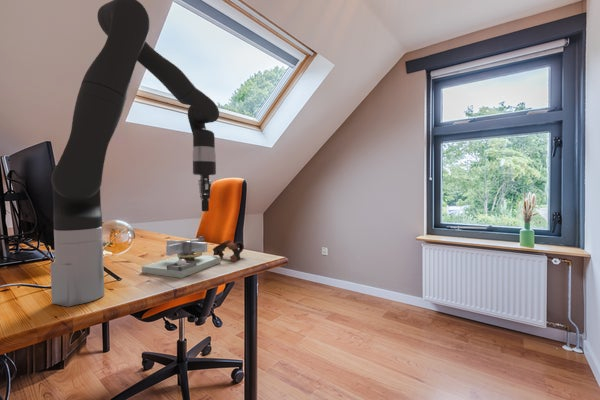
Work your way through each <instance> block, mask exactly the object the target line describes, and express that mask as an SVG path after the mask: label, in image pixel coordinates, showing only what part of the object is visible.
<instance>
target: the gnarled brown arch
mask: <svg viewBox="0 0 600 400" xmlns="http://www.w3.org/2000/svg"><path fill="white" fill-rule="evenodd" d="M238 246H239V248H238ZM225 249H229V250H230V251H232V252H233V254H232V255H230V256H229V258H230V260H231V262H232V263H233V262H236V261H238V260H240V259H241V255H240V254H241V253H242V252H243V251H244V244H243V242H242V241H236V242H232V241H231V239H228V240H225V241H224V242H221V243H219V244H218V245H217V246H214V247H213V248H212V251H213V253H212V254H213V255H212V256H218V257H220V258H223V257H224V256H225V253H224V251H226V250H225Z"/></svg>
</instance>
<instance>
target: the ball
mask: <svg viewBox="0 0 600 400" xmlns="http://www.w3.org/2000/svg"><path fill="white" fill-rule="evenodd" d="M177 264H178V266H182V265H185V264H186V260H184V259H180V260H179V261H178V263H177Z"/></svg>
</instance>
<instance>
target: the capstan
mask: <svg viewBox="0 0 600 400" xmlns="http://www.w3.org/2000/svg"><path fill="white" fill-rule="evenodd" d="M165 249H166V251H165V253H166V256H167V257H168V256H169V257H170V256H174V255H176V256H177V257H178V258H179V260H180V259H184V260H186V261H194V260H195V258H196V257H200V256H202V255H203V253H204V254H205V253H207V252H208V242H205V236H202V235H200V236H197V238H193V239H185V240H177V239H176V240H175V239H168V240H166V246H165Z"/></svg>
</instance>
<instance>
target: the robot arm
mask: <svg viewBox="0 0 600 400" xmlns="http://www.w3.org/2000/svg"><path fill="white" fill-rule="evenodd" d="M147 11H148V10H146V8H145V7H144V5H143V4H142V3H141V2H140V1H139V0H111V1H109V2H106V3H104V4H103V5H102V6H100V8H98V11H97V22H98V24H99V26H100V28H101V29H102V32H104V34H105V35H106V36H107V38H106V40H105V43H104V45H103V47H102V49H101V51H100V52H99V53H98V55H97V56H95V58H94V60H93V61H92V63H91V64H90V65H89V67H88V69H87V70H86V72H85V74H84V75H83V78H82V81H81V84H80V87H79V91H78V92H77V93H78V94H77V95H76V96H77V97H76V101H75V105H74V109H73V114H72V115H73V116H72V122H71V127H70V134H69V137H68V140H67V142H66V145H65V148H64V150H63V152H62V154H61V156H60V159H59V160H58V163H57V164H56V165H55V168H54V169H53V170H52V173H51V178H50V179H51V185H52V197H53V198H52V200H53V216H52V217H53V219H52V220H53V239H54V240H53V242H54V244H53V245H54V261H52V262H50V285H51V286H50V289H51V304H52V305H53V304H54V305H57V306H64V307H67V308H70V307H72V306H73V307H74V306H76V305H81V304H86V303H90V302H93V301H96V300H98V299H101V298H103V296H104V295H105V275H104V274H105V271H104V270H105V269H104V243H103V242H104V239H103V215H102V205H101V204H102V203H101V199H102V198H101V196H102V195H101V186H102V183H103V173H104V167H105V160H106V155H107V150H108V147H109V145H110V142H111V140H112V138H113V135H114V134H115V131H116V130H117V126H118V125H119V122H120V120H121V116H122V113H123V111H124V107H125V104H126V100H127V97H128V92H129V89H130V87H131V82H132V79H133V75H134V73H135V68H136V64H137V63H139V64H140V65H141V66H142V67H144V68H145V69H146V70H147V71H148V72H149V73H151V74H152V75H153V76H154V77H155V78H156V79H157V80H158V81H159V82H160V83H161V84H162V85H163V86H164V87H165V89H166V90H168V92H170V93H171V94H172V96H174V98H175V99H176V100H177V101H178V102H179V103H180V104H182V105H187V106H189V107H188V110H187V119H188V123H189V127H190V129H191V133H192V139H193V140H192V143H193V144H192V175H195V176H200V179H199V180H198V181H197V182H198V184H197V185H198V189H199V194H200V195H199V198H200V200H201V212H209V211H210V207H209V205H210V204H209V203H210V202H209V201H210V198H211V193H212V191H211V188H212V187H211V186H212V180H210V176H215V175H217V159H216V149H215V148H216V145H215V144H216V143H215V133H214V132H213V131H212V130H210V129H207V127H206V124H211V123H214V122H216V121H217V120H218V119H219V117H220V110H219V108H218V105H217V104H216V103H215V101H214V100H212V99H211V97H210V96H208V95H206V94H205V93H204V92H202V91H201V90H199V89H198V88H197V87H196V86H195V85H194V83H193V82H192V81H191V80H190V79H189V77H188V76H187V75H186V74H185V73H184V72H183V70H181V69H180V68H179V66H176V65H175V64H174V63H172V61H170V60H168V59H167V58H165V57H164V56H162V54H160V53H159V52H158V51H156V50H155V49H154V48H153V47H152V46H151V45H150V44H149V43H148V42H147V38H148V36H149V34H150V29H151V21H150V17H149V14H148V12H147Z"/></svg>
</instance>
